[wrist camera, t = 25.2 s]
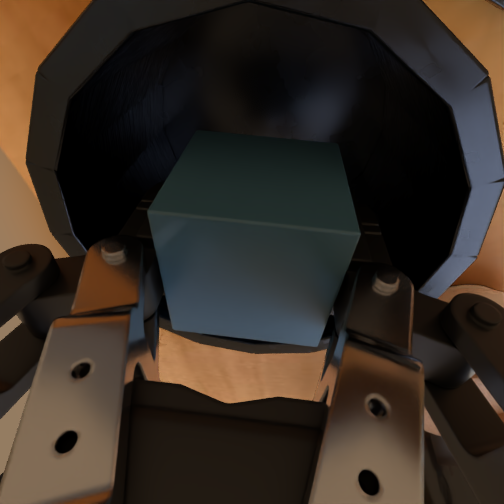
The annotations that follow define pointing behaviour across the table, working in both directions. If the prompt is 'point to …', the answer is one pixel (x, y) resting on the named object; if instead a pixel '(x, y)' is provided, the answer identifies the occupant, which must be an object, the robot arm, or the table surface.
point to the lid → (497, 3)
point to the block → (254, 236)
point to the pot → (272, 119)
